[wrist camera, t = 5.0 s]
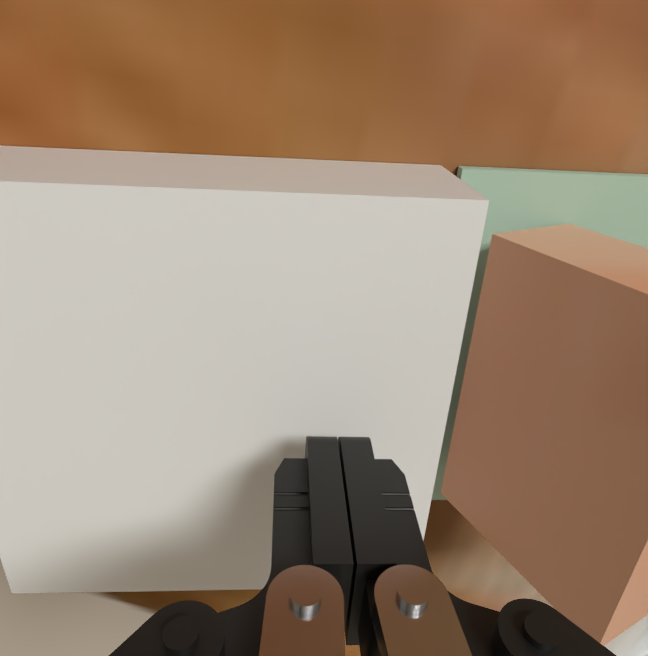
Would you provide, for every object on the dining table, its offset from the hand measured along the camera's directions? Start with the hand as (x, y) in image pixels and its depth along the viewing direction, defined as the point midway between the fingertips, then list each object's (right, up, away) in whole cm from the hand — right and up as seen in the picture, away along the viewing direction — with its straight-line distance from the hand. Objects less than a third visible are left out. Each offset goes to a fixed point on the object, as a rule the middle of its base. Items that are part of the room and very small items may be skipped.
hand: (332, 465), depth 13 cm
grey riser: (-3, +3, +4) cm, 6 cm away
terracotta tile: (+7, +1, +2) cm, 7 cm away
